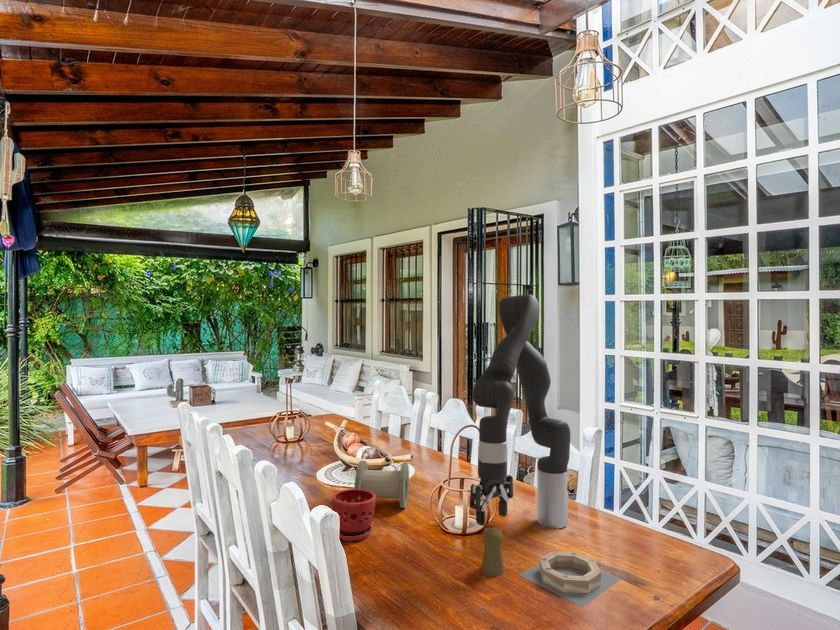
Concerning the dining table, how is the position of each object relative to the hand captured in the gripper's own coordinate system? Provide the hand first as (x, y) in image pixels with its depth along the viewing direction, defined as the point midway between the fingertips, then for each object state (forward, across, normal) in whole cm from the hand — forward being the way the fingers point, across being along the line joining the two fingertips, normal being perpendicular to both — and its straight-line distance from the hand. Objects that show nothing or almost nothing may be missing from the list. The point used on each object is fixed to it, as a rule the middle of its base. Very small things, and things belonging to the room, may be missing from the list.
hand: (491, 520), depth 129 cm
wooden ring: (+13, -12, +15) cm, 23 cm away
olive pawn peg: (+14, 0, 0) cm, 14 cm away
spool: (+14, -5, -54) cm, 56 cm away
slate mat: (+13, -12, +15) cm, 24 cm away
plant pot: (+14, +15, -42) cm, 46 cm away
